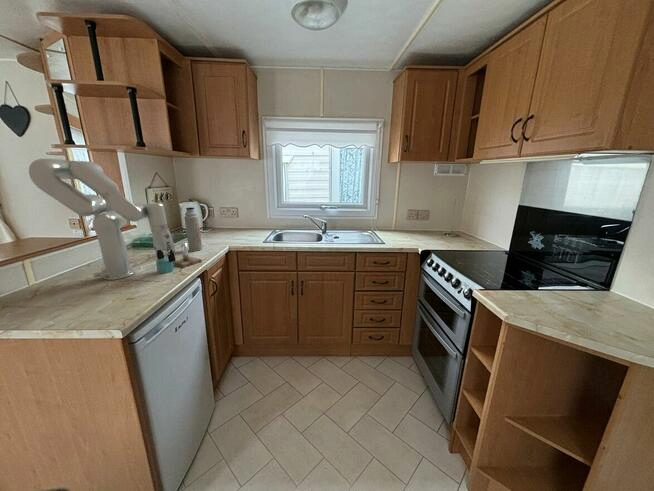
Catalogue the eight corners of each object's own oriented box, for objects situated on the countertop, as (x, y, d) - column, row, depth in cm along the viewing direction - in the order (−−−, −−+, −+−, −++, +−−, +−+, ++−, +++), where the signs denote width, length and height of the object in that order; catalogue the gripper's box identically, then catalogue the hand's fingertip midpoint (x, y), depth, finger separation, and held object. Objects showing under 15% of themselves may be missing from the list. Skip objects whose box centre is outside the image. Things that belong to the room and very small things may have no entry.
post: (185, 261, 148) (182, 244, 145) (182, 260, 149) (179, 243, 147) (190, 260, 151) (188, 243, 148) (187, 259, 152) (184, 242, 149)
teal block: (163, 274, 134) (161, 262, 132) (155, 271, 137) (153, 260, 136) (176, 269, 140) (174, 259, 138) (168, 267, 143) (166, 257, 141)
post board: (183, 267, 143) (183, 264, 143) (171, 264, 148) (171, 261, 148) (201, 261, 153) (201, 259, 152) (189, 259, 158) (189, 256, 157)
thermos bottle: (204, 248, 180) (199, 207, 172) (197, 251, 172) (191, 208, 165) (194, 247, 181) (188, 206, 174) (186, 251, 174) (180, 208, 166)
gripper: (177, 227, 132) (183, 260, 136) (157, 225, 140) (164, 256, 145) (162, 230, 125) (169, 264, 130) (142, 228, 134) (149, 260, 138)
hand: (166, 260), depth 137 cm, fingers open, 9 cm apart
